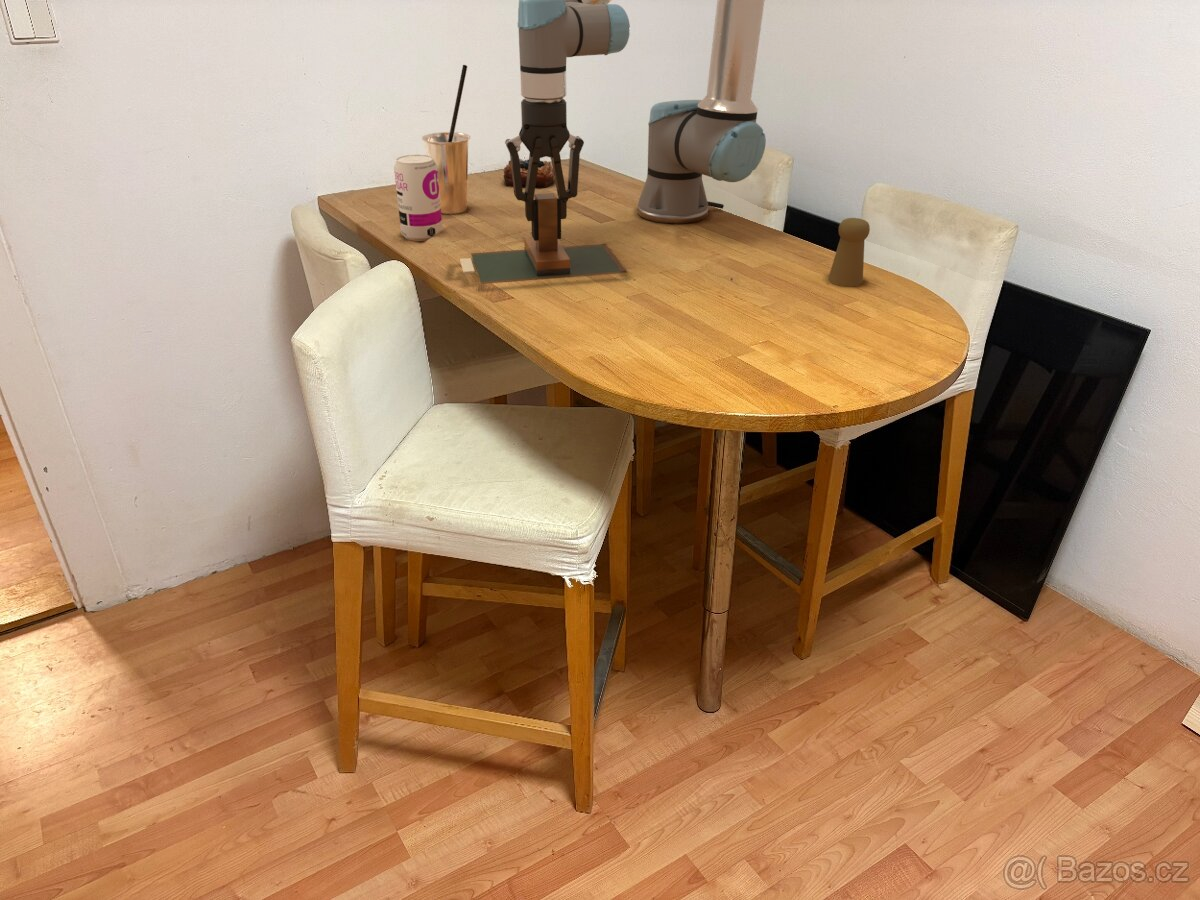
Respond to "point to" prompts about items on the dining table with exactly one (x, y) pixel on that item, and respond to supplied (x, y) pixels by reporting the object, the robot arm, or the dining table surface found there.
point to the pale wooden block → (467, 266)
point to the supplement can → (418, 197)
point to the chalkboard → (520, 269)
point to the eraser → (547, 240)
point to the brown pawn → (850, 253)
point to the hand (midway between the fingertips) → (546, 237)
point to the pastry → (543, 174)
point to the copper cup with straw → (451, 161)
